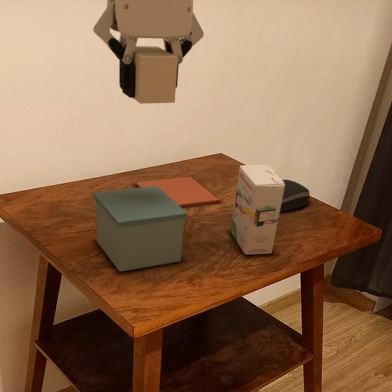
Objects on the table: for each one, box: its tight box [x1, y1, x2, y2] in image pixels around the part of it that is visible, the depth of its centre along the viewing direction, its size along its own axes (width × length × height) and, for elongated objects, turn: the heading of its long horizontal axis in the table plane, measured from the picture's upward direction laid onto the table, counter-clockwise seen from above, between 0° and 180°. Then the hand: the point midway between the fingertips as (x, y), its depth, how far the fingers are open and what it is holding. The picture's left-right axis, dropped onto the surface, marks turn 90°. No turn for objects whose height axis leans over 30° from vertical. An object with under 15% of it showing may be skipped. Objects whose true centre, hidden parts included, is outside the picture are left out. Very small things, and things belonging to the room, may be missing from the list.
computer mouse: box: [280, 179, 311, 213], centre depth 103 cm, size 7×12×4 cm, turn 129°
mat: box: [135, 176, 220, 208], centre depth 103 cm, size 12×12×1 cm
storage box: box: [92, 186, 188, 273], centre depth 81 cm, size 11×11×8 cm
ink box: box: [229, 163, 285, 256], centre depth 86 cm, size 8×5×12 cm, turn 14°
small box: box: [132, 45, 178, 105], centre depth 71 cm, size 5×6×6 cm
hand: (148, 93), depth 73 cm, fingers closed on small box, 5 cm apart
